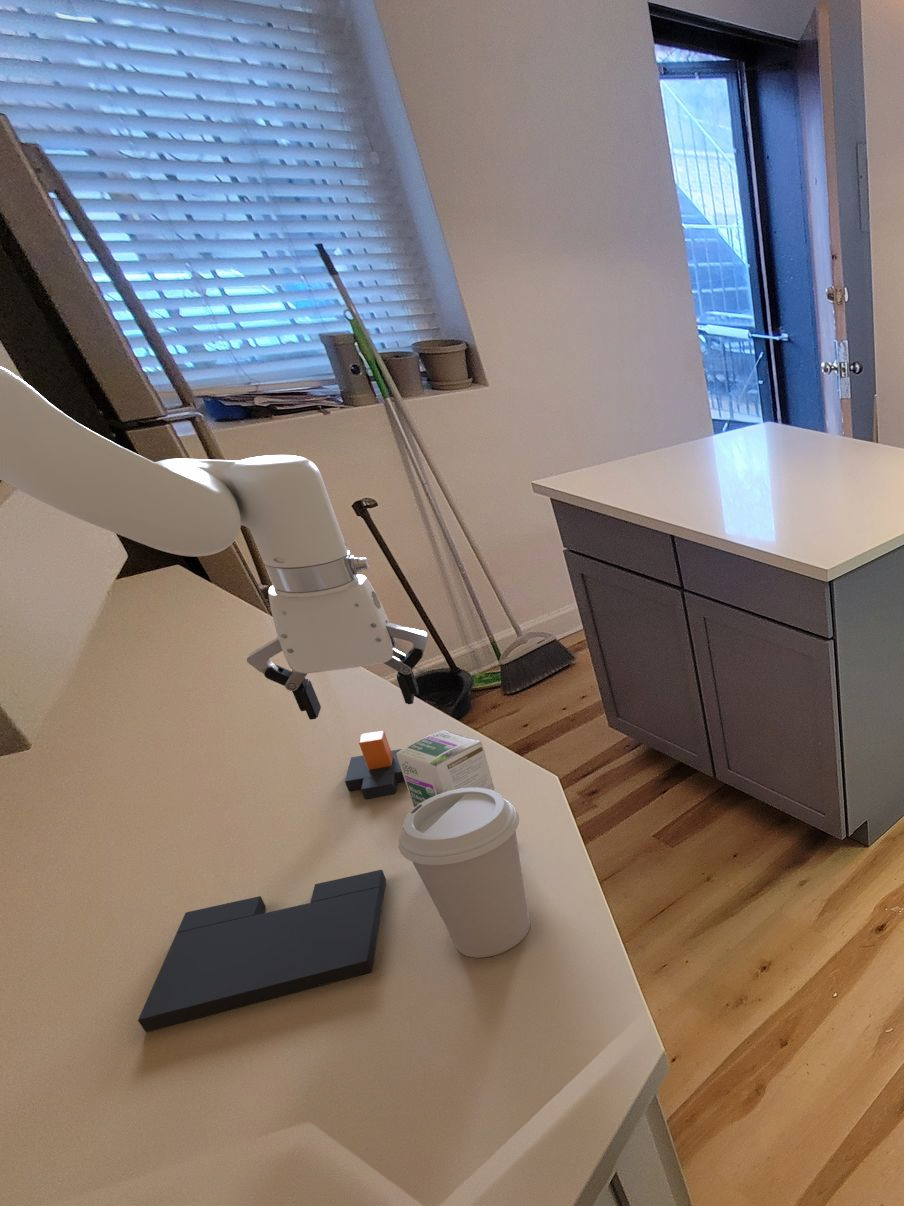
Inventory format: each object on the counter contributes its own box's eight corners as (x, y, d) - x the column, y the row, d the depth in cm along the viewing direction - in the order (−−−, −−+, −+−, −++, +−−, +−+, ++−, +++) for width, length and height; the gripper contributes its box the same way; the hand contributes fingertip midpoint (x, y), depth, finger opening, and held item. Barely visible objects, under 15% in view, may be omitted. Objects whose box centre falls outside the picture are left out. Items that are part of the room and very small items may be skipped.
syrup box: (429, 864, 86) (390, 752, 79) (475, 833, 91) (442, 726, 84) (469, 878, 85) (433, 766, 78) (513, 846, 90) (483, 738, 83)
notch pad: (145, 1032, 66) (137, 1020, 66) (191, 923, 77) (185, 912, 76) (372, 972, 73) (367, 960, 73) (386, 879, 84) (382, 869, 83)
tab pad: (345, 803, 95) (330, 765, 92) (354, 766, 101) (340, 730, 98) (414, 790, 98) (401, 753, 95) (418, 756, 104) (406, 720, 101)
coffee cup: (503, 888, 84) (468, 772, 76) (568, 920, 80) (537, 801, 73) (415, 947, 76) (366, 823, 69) (482, 984, 73) (439, 859, 65)
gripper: (407, 554, 94) (447, 681, 102) (222, 570, 86) (281, 705, 95) (402, 575, 88) (445, 707, 97) (203, 594, 81) (269, 735, 89)
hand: (364, 706), depth 96 cm, fingers open, 9 cm apart
